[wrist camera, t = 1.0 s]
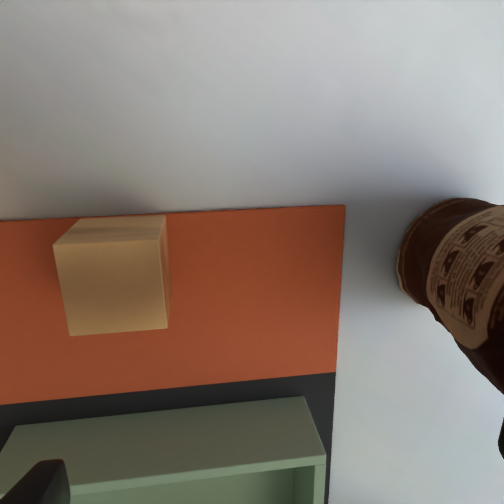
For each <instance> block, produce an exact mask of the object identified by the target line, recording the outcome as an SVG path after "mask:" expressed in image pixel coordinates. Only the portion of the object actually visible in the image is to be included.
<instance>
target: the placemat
mask: <svg viewBox="0 0 504 504" xmlns="http://www.w3.org/2000/svg"><path fill="white" fill-rule="evenodd" d="M148 215H166V223H167V234H168V245H169V256H170V267H171V278H172V289H173V290H172V298H171V306H170V314H169V322H168V328H167V329H155V330H143V331H130V332H118V333H106V334H93V335H81V336H69V331H68V326H67V320H66V315H65V310H64V304H63V299H62V294H61V289H60V283H59V278H58V273H57V267H56V262H55V257H54V252H53V246H52V245H53V244H54V243H55V242H56V241H57V240H58V239H59V238H60V237H61V236H62V235H63V234H64V233H66V232H67V231H68V230H69V229H70V228H71V227H72V226H73V225H74V224H75V223H76V222H77V221H78V220H79V219H86V218H107V217H127V216H148ZM344 223H345V205H322V206H301V207H280V208H260V209H239V210H218V211H198V212H177V213H156V214H136V215H115V216H94V217H74V218H53V219H32V220H12V221H0V453H1V451H2V449H3V447H4V446H5V444H6V442H7V440H8V439H9V437H10V435H11V433H12V431H13V430H14V428H15V426H18V425H28V424H37V423H47V422H56V421H66V420H75V419H85V418H95V417H104V416H114V415H123V414H133V413H143V412H152V411H162V410H171V409H181V408H190V407H200V406H210V405H219V404H229V403H238V402H248V401H257V400H267V399H277V398H286V397H296V396H304V398H305V400H306V403H307V406H308V408H309V411H310V413H311V416H312V419H313V421H314V424H315V426H316V429H317V432H318V434H319V437H320V440H321V442H322V445H323V447H324V450H325V453H326V473H325V491H324V504H328V496H329V479H330V462H331V445H332V428H333V411H334V394H335V377H336V360H337V343H338V326H339V308H340V291H341V274H342V257H343V240H344Z"/></svg>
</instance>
